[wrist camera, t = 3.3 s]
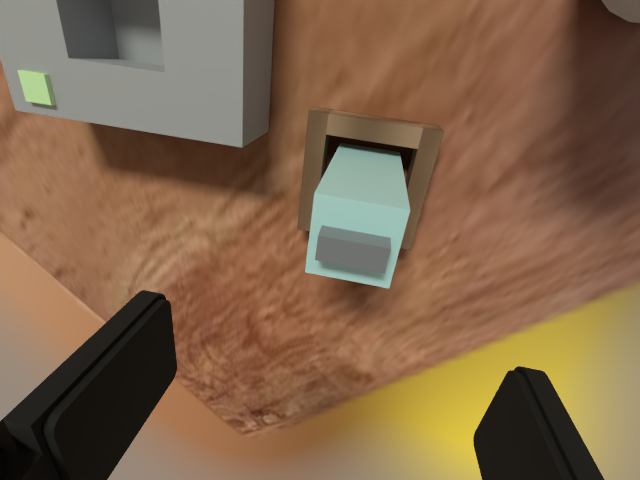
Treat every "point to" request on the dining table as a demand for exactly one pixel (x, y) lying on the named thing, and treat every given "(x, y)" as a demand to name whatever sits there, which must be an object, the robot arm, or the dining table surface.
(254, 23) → the port block
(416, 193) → the square wooden frame
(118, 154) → the dining table surface
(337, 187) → the plug
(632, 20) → the can
